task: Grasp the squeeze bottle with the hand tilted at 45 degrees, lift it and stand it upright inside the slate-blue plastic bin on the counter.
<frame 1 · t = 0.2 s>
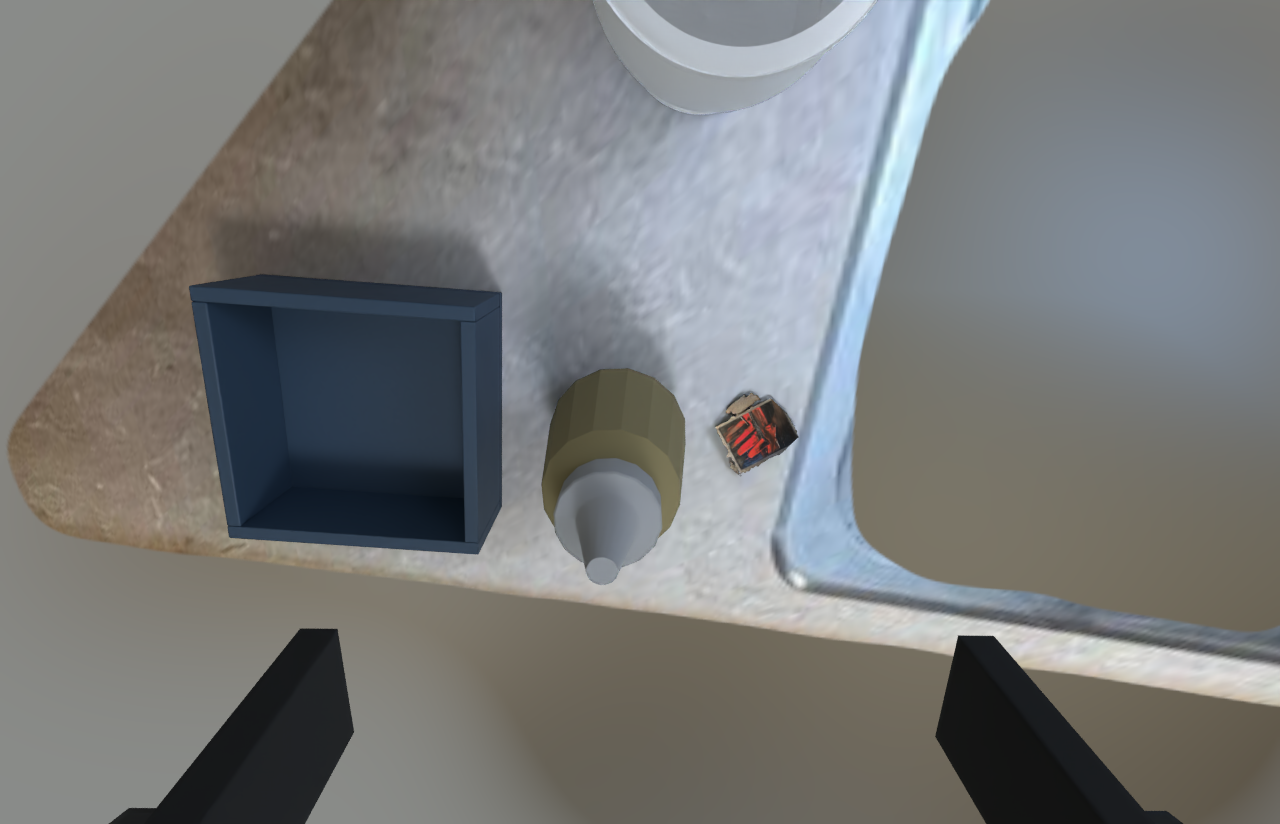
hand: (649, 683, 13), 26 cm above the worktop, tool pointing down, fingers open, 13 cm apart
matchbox: (752, 429, 39), on the worktop
bin: (388, 397, 39), on the worktop
squeeze bottle: (620, 413, 39), on the worktop
jar: (701, 31, 32), on the worktop
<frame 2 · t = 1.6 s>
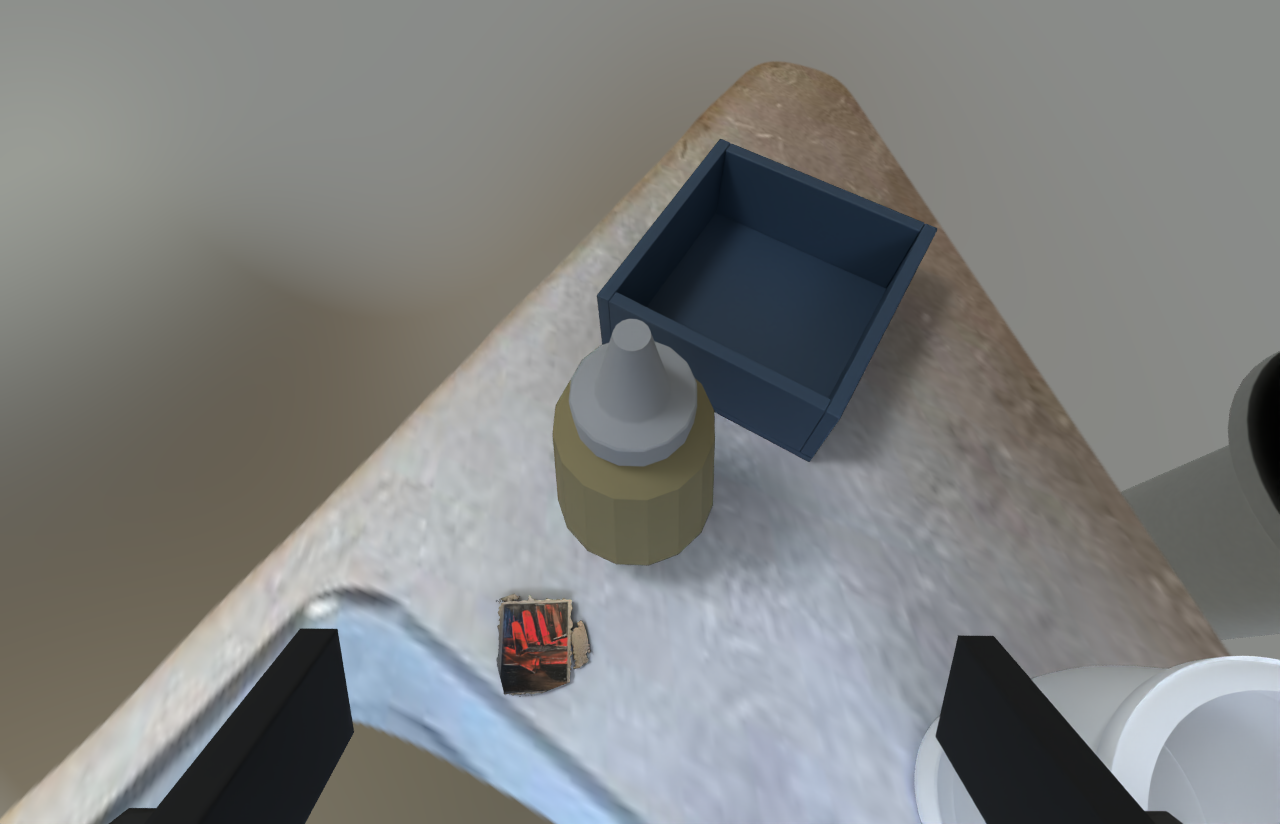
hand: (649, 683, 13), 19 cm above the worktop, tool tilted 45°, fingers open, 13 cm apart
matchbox: (542, 643, 31), on the worktop
bin: (754, 321, 40), on the worktop
squeeze bottle: (636, 508, 34), on the worktop
jar: (999, 796, 28), on the worktop
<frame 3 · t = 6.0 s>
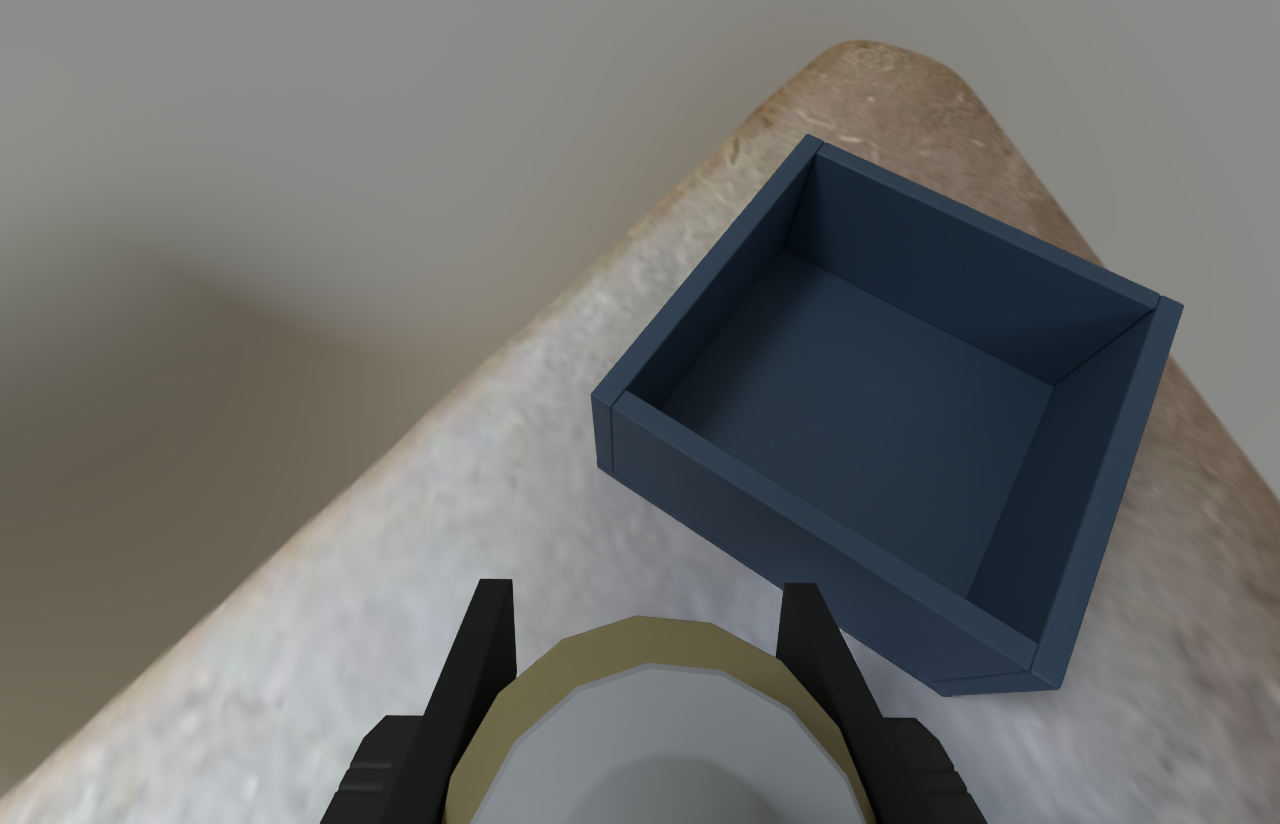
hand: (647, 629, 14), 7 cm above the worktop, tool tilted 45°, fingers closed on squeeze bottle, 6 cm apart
bin: (842, 427, 25), on the worktop
squeeze bottle: (638, 774, 19), on the worktop, touching gripper
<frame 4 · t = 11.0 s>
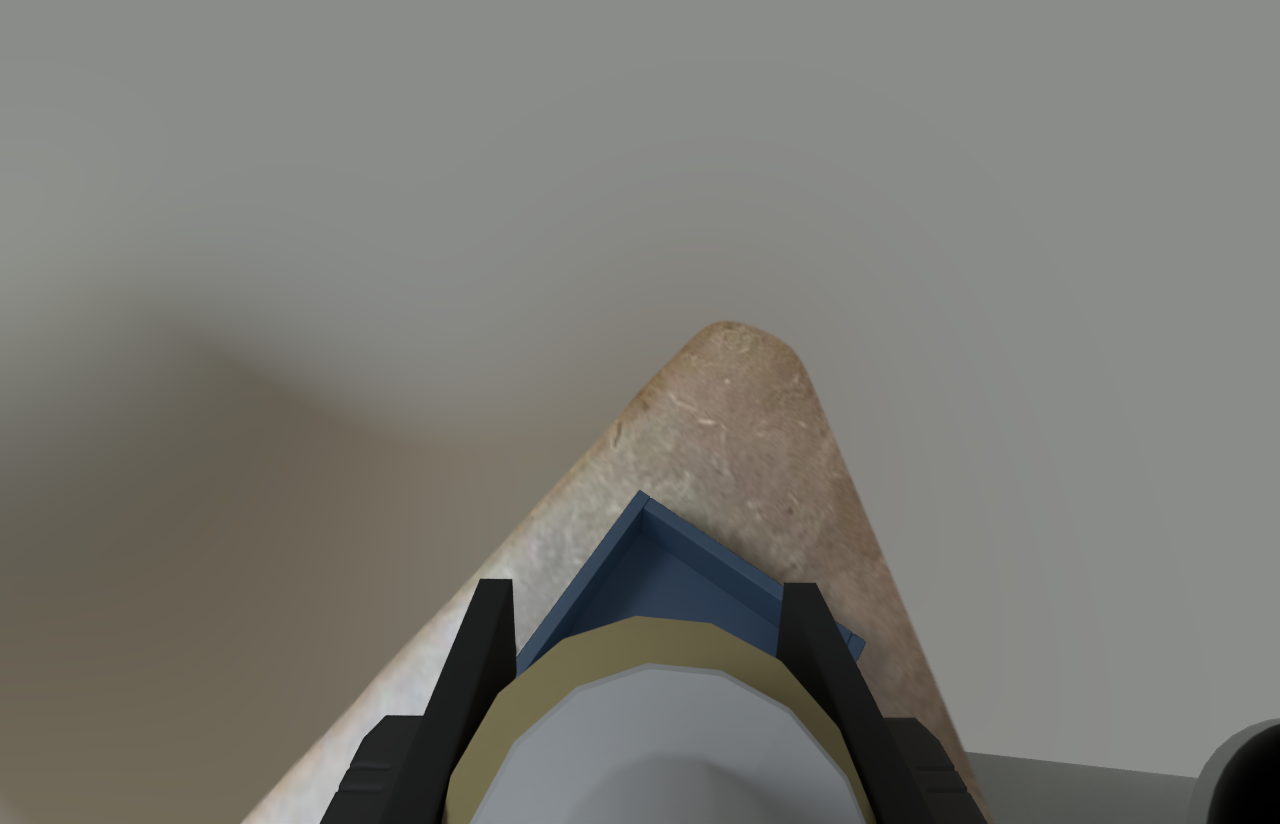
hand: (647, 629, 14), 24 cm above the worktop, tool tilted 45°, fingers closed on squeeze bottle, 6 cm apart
bin: (667, 684, 36), on the worktop
squeeze bottle: (638, 774, 19), point 17 cm above the worktop, touching gripper
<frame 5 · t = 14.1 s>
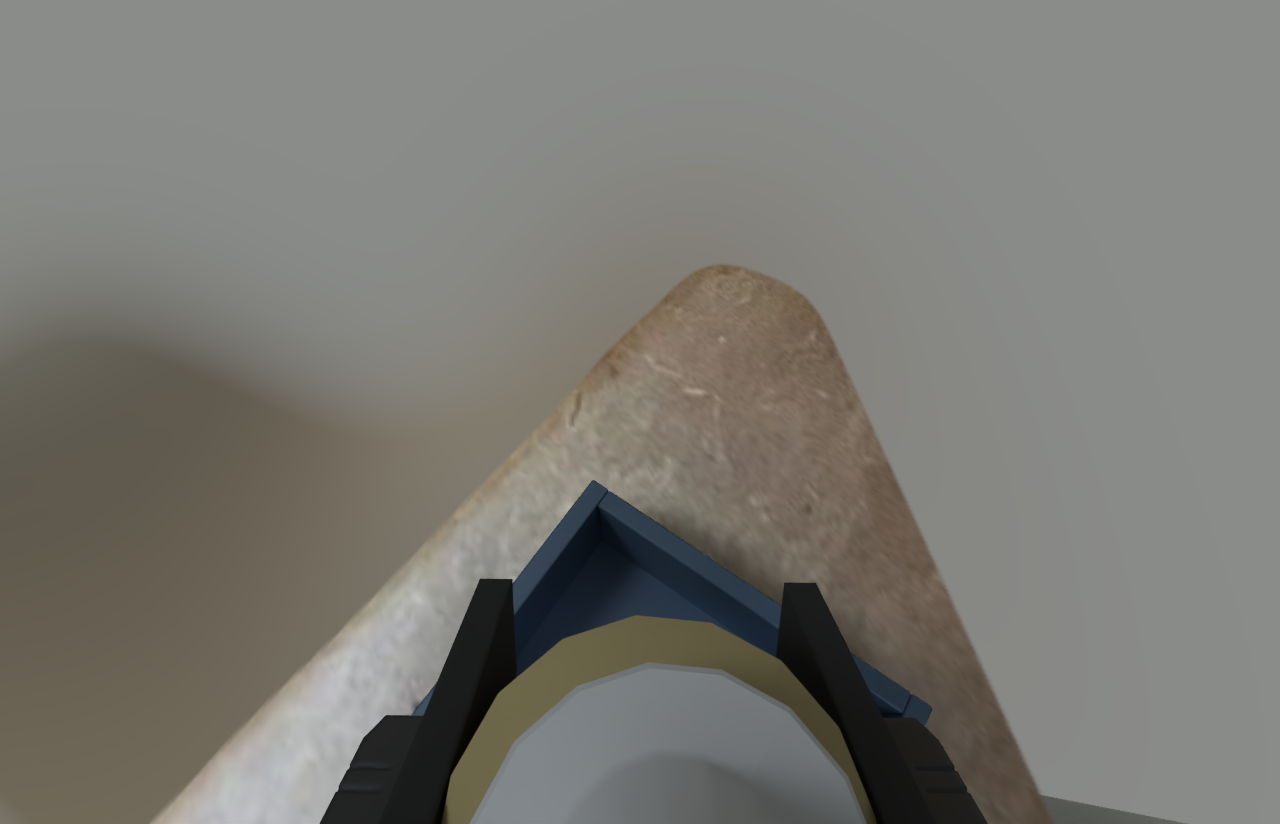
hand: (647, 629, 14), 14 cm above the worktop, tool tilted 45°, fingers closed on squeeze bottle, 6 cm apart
bin: (636, 759, 25), on the worktop
squeeze bottle: (638, 774, 19), point 6 cm above the worktop, touching gripper
when the fingers open (8 cm above the worktop, at t = 16.1 s): squeeze bottle stays where it is, resting on bin.
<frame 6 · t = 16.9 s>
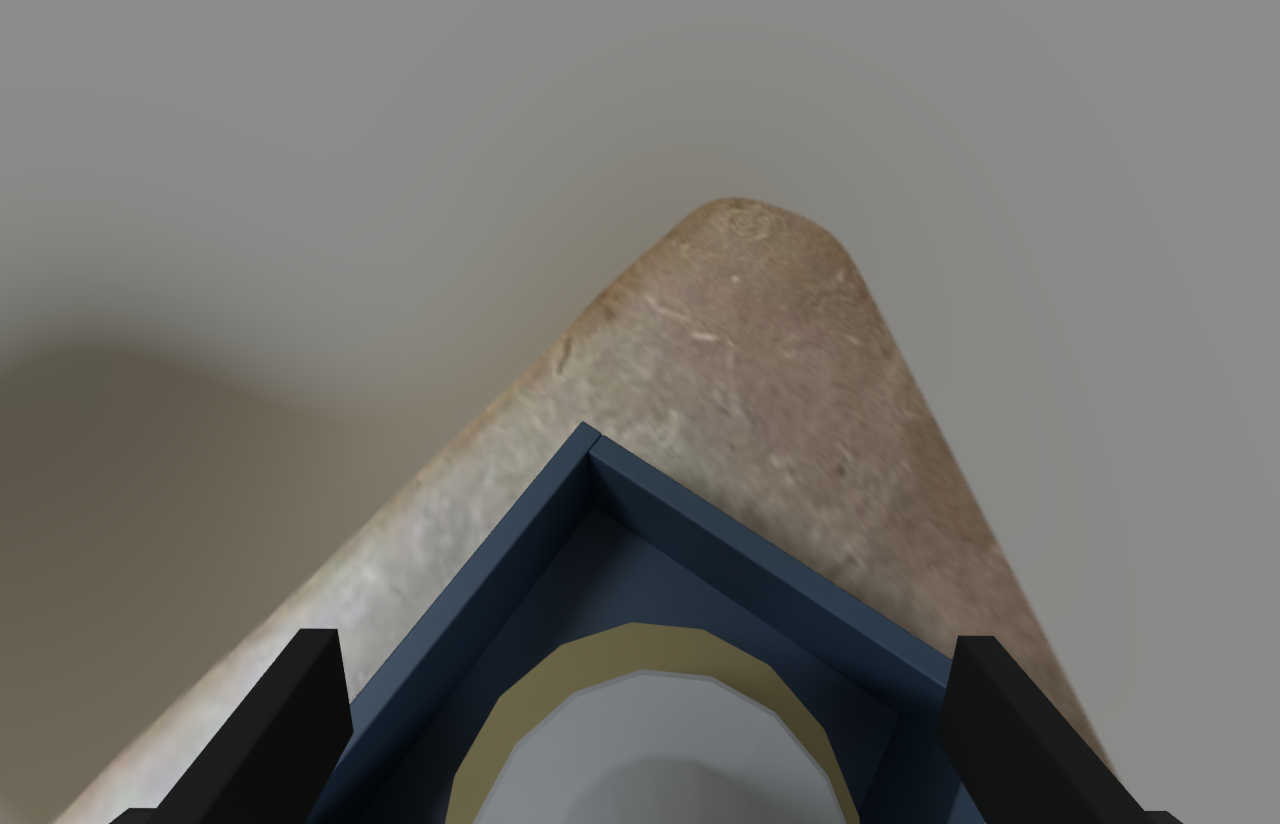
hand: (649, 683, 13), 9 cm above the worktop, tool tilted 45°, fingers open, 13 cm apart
bin: (636, 771, 20), on the worktop
squeeze bottle: (634, 774, 20), resting on bin
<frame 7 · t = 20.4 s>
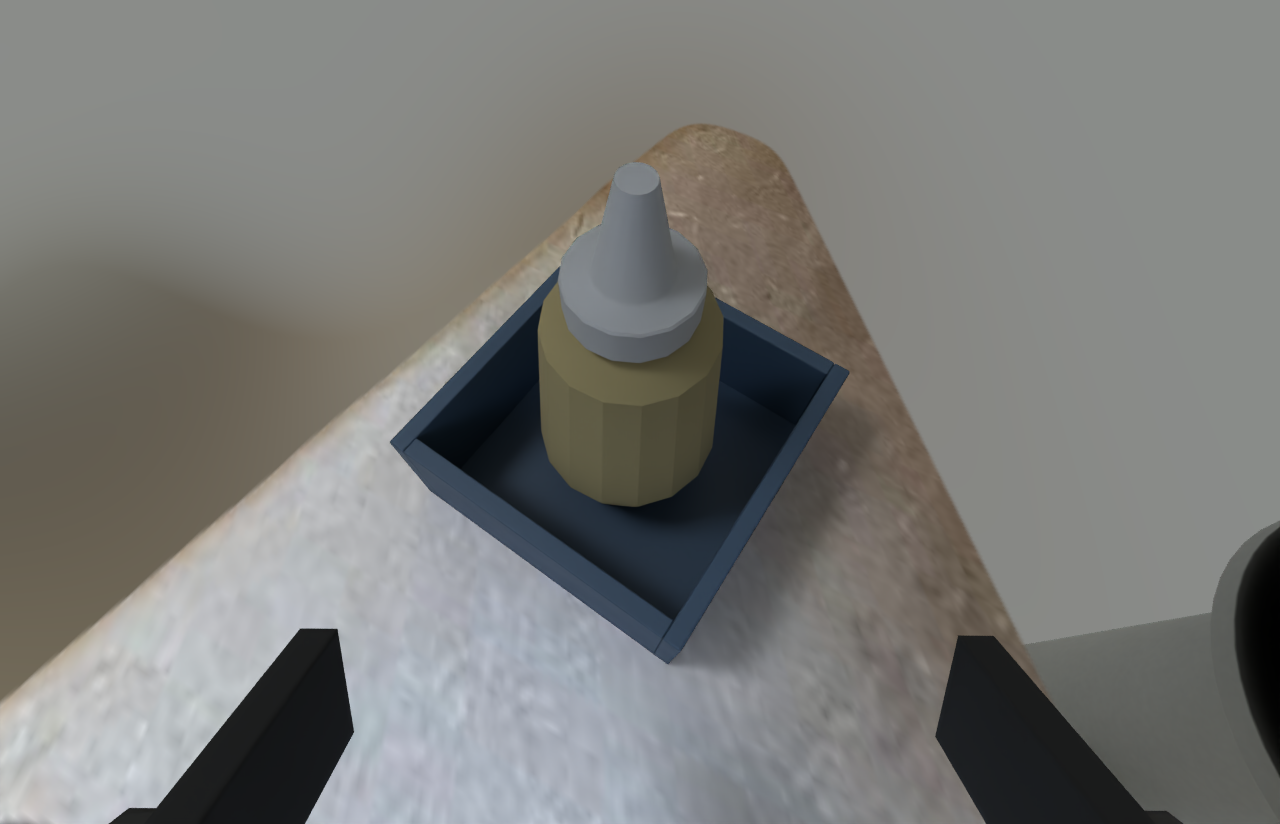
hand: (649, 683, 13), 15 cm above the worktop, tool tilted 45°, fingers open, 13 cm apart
bin: (627, 457, 32), on the worktop
squeeze bottle: (627, 455, 31), resting on bin
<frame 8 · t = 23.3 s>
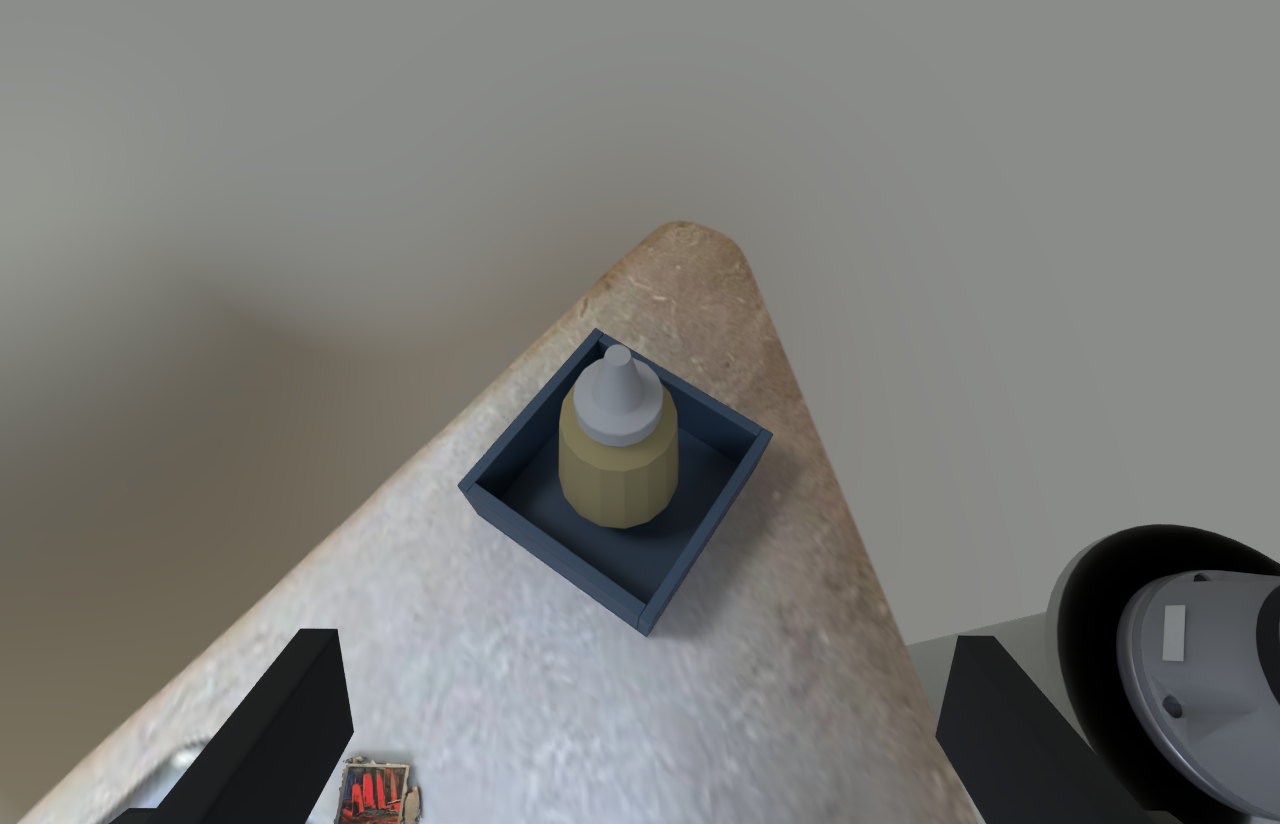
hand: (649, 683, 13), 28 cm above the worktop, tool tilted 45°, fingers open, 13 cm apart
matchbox: (379, 804, 35), on the worktop
bin: (620, 490, 44), on the worktop
squeeze bottle: (619, 489, 43), resting on bin
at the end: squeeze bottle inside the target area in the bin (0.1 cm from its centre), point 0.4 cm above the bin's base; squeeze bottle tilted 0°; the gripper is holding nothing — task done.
